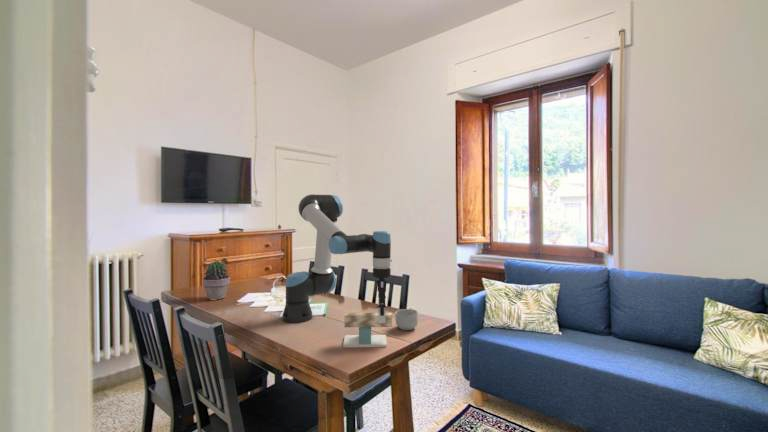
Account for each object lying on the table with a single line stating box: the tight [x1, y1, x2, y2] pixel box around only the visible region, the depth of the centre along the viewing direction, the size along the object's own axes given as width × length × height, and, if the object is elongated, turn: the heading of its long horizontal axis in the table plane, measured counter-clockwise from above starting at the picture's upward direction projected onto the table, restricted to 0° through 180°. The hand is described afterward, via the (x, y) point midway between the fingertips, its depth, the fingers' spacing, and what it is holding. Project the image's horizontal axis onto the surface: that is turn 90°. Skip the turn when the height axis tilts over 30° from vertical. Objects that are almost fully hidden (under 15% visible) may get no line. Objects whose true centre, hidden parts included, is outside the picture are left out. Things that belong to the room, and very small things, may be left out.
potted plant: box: [200, 257, 231, 300], centre depth 218 cm, size 18×20×25 cm
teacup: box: [394, 308, 419, 331], centre depth 167 cm, size 14×11×8 cm
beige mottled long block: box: [344, 312, 393, 328], centre depth 148 cm, size 20×4×5 cm, turn 92°
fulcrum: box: [342, 327, 388, 348], centre depth 148 cm, size 18×11×7 cm, turn 92°
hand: (381, 318), depth 148 cm, fingers open, 11 cm apart
